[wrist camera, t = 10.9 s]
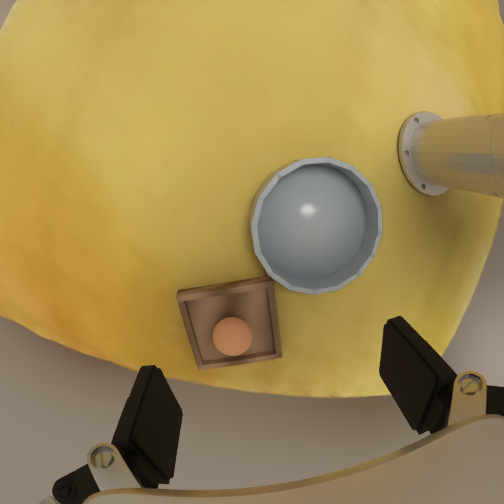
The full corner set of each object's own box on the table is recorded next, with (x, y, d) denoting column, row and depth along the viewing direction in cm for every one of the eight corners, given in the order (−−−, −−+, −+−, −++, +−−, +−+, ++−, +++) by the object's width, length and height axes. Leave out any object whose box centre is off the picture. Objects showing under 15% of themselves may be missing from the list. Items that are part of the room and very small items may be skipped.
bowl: (362, 155, 32) (377, 154, 28) (368, 269, 36) (382, 279, 32) (240, 167, 31) (242, 166, 27) (258, 290, 35) (262, 304, 32)
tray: (270, 275, 35) (273, 280, 33) (279, 349, 39) (282, 357, 37) (178, 290, 34) (176, 296, 33) (199, 362, 38) (198, 369, 36)
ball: (248, 307, 35) (250, 328, 30) (253, 338, 36) (256, 361, 32) (210, 312, 35) (206, 333, 30) (217, 342, 36) (216, 365, 32)
